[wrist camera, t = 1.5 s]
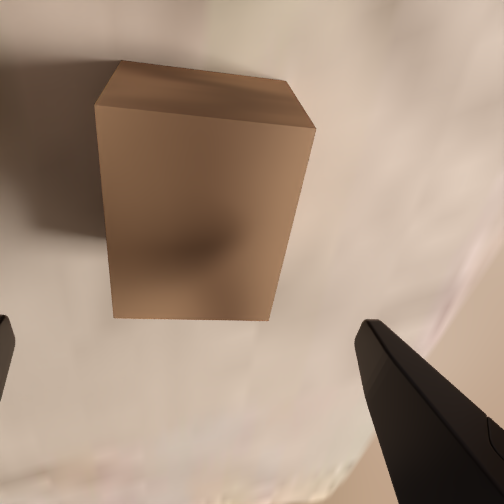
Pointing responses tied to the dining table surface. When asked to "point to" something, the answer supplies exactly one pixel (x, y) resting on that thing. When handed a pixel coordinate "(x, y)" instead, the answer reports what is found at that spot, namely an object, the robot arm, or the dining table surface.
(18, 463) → the dining table surface
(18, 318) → the dining table surface
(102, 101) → the walnut block
